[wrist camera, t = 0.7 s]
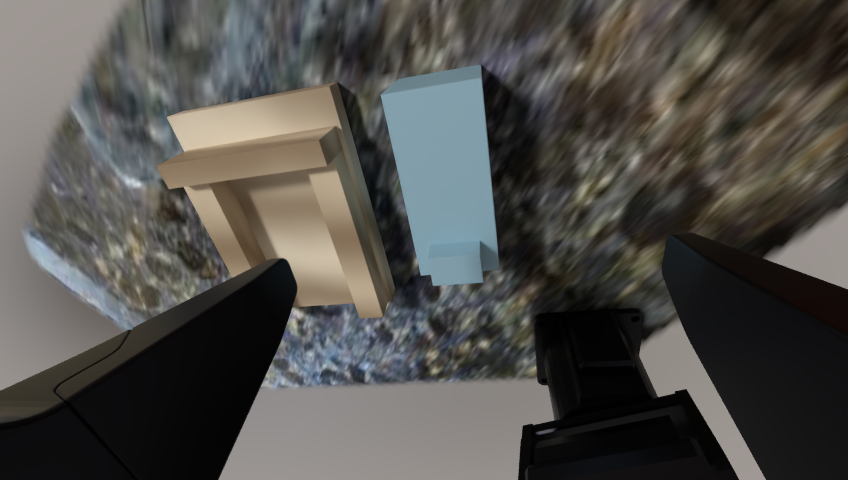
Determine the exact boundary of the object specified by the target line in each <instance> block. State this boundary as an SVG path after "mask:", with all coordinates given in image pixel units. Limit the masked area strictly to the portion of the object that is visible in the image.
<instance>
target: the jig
mask: <svg viewBox="0 0 848 480" xmlns="http://www.w3.org/2000/svg"><path fill="white" fill-rule="evenodd" d="M167 118H168V120H169V122H170V124H171V126H172V128H173V130H174V132H175V134H176V136H177V138H178V140H179V142H180V144H181V146H182V148H183V150H184V152H183V153H181V154H180V155H178V156H176V157H174V158H172V159H170V160H168V161H166V162H164V163H162V164H160V165H158V166H156V167H157V168H158V170H159V172H160V174H161V176H162V177H163V179H164V181H165V183H166V184H167V186H168V188H169V189H172V188H179V187H184V189H185V190H186V192H187V194H188V196H189V198H190V200H191V201H192V203H193V205H194V207H195V209H196V211H197V213H198V214H199V216H200V218H201V220H202V222H203V224H204V226H205V227H206V229H207V231H208V233H209V235H210V237H211V239H212V240H213V242H214V244H215V246H216V248H217V250H218V251H219V253H220V255H221V257H222V259H223V261H224V263H225V264H226V266H227V268H228V270H229V272H230V274H231V276H232V277H235V276H237V275H239V274H241V273H243V272H245V271H247V270H249V269H251V268H253V267H255V266H257V265H259V264H261V263H263V262H265V261H267V260H269V259H275V258H284V259H286V260H287V261H288V262H289V264H290V267H291V269H292V272H293V275H294V277H295V280H296V282H297V287H298V290H297V295H296V298H295V301H294V304H293V307H304V306H319V305H333V304H348V303H355V306H356V309H357V312H358V315H359V317H360V318H375V317H383V316H384V313H385V310H386V306H387V303H388V301H392V298H393V295H394V292H395V286H394V282H393V279H392V275H391V271H390V268H389V264H388V261H387V257H386V254H385V250H384V247H383V243H382V239H381V236H380V232H379V229H378V225H377V222H376V218H375V214H374V211H373V207H372V204H371V200H370V197H369V193H368V190H367V186H366V182H365V179H364V175H363V172H362V168H361V165H360V161H359V157H358V154H357V150H356V147H355V143H354V140H353V136H352V133H351V129H350V125H349V122H348V118H347V115H346V111H345V108H344V104H343V101H342V97H341V93H340V90H339V86H338V83H337V82H335V83H329V84H324V85H319V86H314V87H308V88H303V89H298V90H293V91H287V92H282V93H277V94H272V95H266V96H261V97H256V98H251V99H245V100H240V101H235V102H229V103H224V104H219V105H214V106H208V107H203V108H198V109H193V110H187V111H182V112H179V113H177V114H174V115H171V116H168V117H167Z"/></svg>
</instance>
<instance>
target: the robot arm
mask: <svg viewBox="0 0 848 480" xmlns="http://www.w3.org/2000/svg"><path fill="white" fill-rule="evenodd" d="M662 275H663V278H664V280H665V283H666V286H667V288H668V291H669V293H670V296H671V298H672V301H673V303H674V306H675V308H676V311H677V313H678V316H679V318H680V321H681V323H682V326H683V328H684V330H685V332H686V335H687V337H688V339H689V341H690V343H691V344H692V346H693V348H694V350H695V352H696V354H697V355H698V357H699V359H700V361H701V363H702V364H703V366H704V368H705V370H706V372H707V374H708V375H709V377H710V379H711V381H712V382H713V384H714V386H715V388H716V390H717V392H718V393H719V395H720V397H721V399H722V401H723V403H724V404H725V406H726V408H727V410H728V412H729V413H730V415H731V417H732V419H733V420H734V422H735V424H736V426H737V428H738V430H739V431H740V433H741V435H742V437H743V438H744V440H745V442H746V444H747V446H748V448H749V449H750V451H751V453H752V455H753V457H754V459H755V460H756V462H757V464H758V466H759V468H760V470H761V471H762V473H763V475H764V477H765V478H766V480H848V289H845V288H842V287H840V286H837V285H834V284H831V283H828V282H826V281H823V280H820V279H818V278H815V277H812V276H809V275H807V274H804V273H801V272H798V271H795V270H793V269H790V268H787V267H785V266H782V265H779V264H776V263H774V262H771V261H768V260H766V259H763V258H760V257H757V256H755V255H752V254H749V253H746V252H744V251H741V250H738V249H735V248H733V247H730V246H727V245H724V244H722V243H719V242H716V241H713V240H711V239H708V238H705V237H702V236H700V235H697V234H694V233H674V234H671V235H669V236H668V238H667V241H666V246H665V252H664V257H663V263H662ZM297 290H298V287H297V282H296V280H295V277H294V275H293V272H292V269H291V267H290V264H289V262H288V261H287V260H286V259H284V258H275V259H269V260H267V261H265V262H263V263H261V264H259V265H257V266H255V267H253V268H251V269H249V270H247V271H245V272H243V273H241V274H239V275H237V276H235V277H233V278H231V279H229V280H227V281H225V282H223V283H221V284H219V285H217V286H215V287H213V288H211V289H209V290H207V291H205V292H203V293H201V294H199V295H197V296H195V297H193V298H191V299H189V300H187V301H185V302H183V303H181V304H179V305H177V306H175V307H173V308H171V309H169V310H167V311H165V312H163V313H161V314H159V315H157V316H155V317H153V318H151V319H149V320H147V321H145V322H143V323H141V324H139V325H137V326H136V327H134V328H133V329H132V330H127V331H125V332H123V333H121V334H120V335H118V336H116V337H114V338H112V339H110V340H107V341H106V342H103V343H101V344H100V345H97V346H95V347H93V348H91V349H89V350H87V351H85V352H83V353H81V354H79V355H77V356H75V357H72V358H70V359H68V360H66V361H64V362H62V363H60V364H57V365H55V366H53V367H51V368H49V369H47V370H44V371H42V372H40V373H38V374H36V375H34V376H31V377H29V378H27V379H25V380H23V381H21V382H18V383H16V384H14V385H12V386H10V387H8V388H5V389H4V390H1V391H0V480H218V479H219V477H220V475H221V473H222V470H223V468H224V466H225V464H226V461H227V459H228V457H229V455H230V453H231V451H232V448H233V446H234V444H235V442H236V440H237V437H238V435H239V433H240V431H241V429H242V426H243V424H244V422H245V420H246V418H247V415H248V413H249V411H250V409H251V407H252V404H253V402H254V400H255V398H256V396H257V393H258V391H259V389H260V387H261V385H262V382H263V380H264V378H265V376H266V374H267V371H268V369H269V367H270V365H271V363H272V360H273V358H274V356H275V354H276V352H277V349H278V347H279V345H280V342H281V339H282V337H283V334H284V331H285V328H286V325H287V322H288V319H289V316H290V313H291V310H292V307H293V304H294V301H295V298H296V295H297ZM633 316H636V317H634V318H632V317H633ZM540 321H545V322H540ZM643 323H644V316H643V314H642V312H641V311H640V310H639V309H617V310H600V311H582V312H564V313H547V314H538V315H537V316H535V318H534V330H535V349H536V367H537V379H538V383H539V384H541V385H548V387H549V392H550V397H551V403H552V408H553V414H554V419H555V420H554V421H550V422H546V423H541V424H536V425H533V424H528V425H524V426H523V430H522V439H521V446H520V461H519V476H518V480H739V479H738V477H737V475H736V473H735V471H734V469H733V468H732V466H731V464H730V462H729V461H728V458H727V457H726V455H725V453H724V451H723V450H722V448H721V447H720V445H719V443H718V441H717V440H716V438H715V436H714V435H713V433H712V431H711V430H710V428H709V426H708V425H707V423H706V421H705V420H704V418H703V416H702V415H701V413H700V411H699V410H698V408H697V407H696V405H695V403H694V401H693V400H692V398H691V396H690V395H689V393H688V391H687V390H686V389H685V390H680V391H675V394H671V395H667V396H662V397H658V396H657V394H656V392H655V390H654V388H653V386H652V383H651V381H650V379H649V377H648V375H647V373H646V370H645V369H644V366H643V364H642V362H641V360H640V357H639V352H640V345H641V337H642V330H643Z"/></svg>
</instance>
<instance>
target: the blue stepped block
mask: <svg viewBox="0 0 848 480" xmlns="http://www.w3.org/2000/svg"><path fill="white" fill-rule="evenodd" d="M381 98H382V102H383V107H384V111H385V116H386V120H387V125H388V129H389V134H390V138H391V143H392V147H393V152H394V156H395V161H396V165H397V170H398V174H399V179H400V183H401V188H402V192H403V197H404V201H405V206H406V210H407V215H408V219H409V224H410V228H411V233H412V237H413V242H414V246H415V251H416V255H417V260H418V264H419V269H420V273H421V275H431V277H432V282H433V286H437V285H452V284H468V283H483V271H490V270H499V257H498V244H497V231H496V221H495V210H494V199H493V189H492V178H491V167H490V157H489V146H488V135H487V125H486V114H485V103H484V93H483V82H482V71H481V65H476V66H470V67H465V68H459V69H453V70H447V71H442V72H436V73H430V74H425V75H419V76H413V77H408V78H402V79H398V80H396V81H395V82H394V83H393V84H392V85H391V86H390V87H389V88H388V89H387V90H386V91H384V92H383V93H382V94H381Z"/></svg>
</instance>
